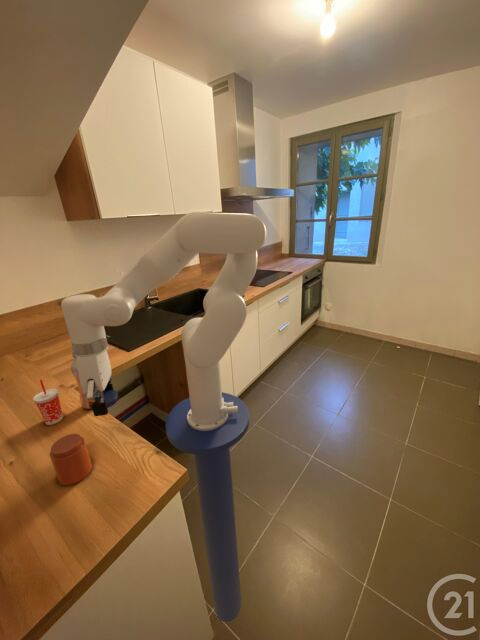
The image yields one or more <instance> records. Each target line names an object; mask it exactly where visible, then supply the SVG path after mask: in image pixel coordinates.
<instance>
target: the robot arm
mask: <svg viewBox="0 0 480 640" xmlns="http://www.w3.org/2000/svg"><path fill="white" fill-rule="evenodd" d="M266 240H267V228H266V225H265V223H264V222H263V220H262V219H261V218H259V216H257V215H255V214H253V213H237V212H236V213H233V212H211V211H209V212H208V211H191V212H188V213H186V214H185V215H182V217H181V218H180V219H179V220H178V221H176V223H174V224H173V225H172V226H171V227H170V228H169V229H168V230H167V231H166V232H165V233H164V234H163V235H162V236H161V237H160V238H159V239H158V240H157V241H156V242H154V244H153V245H152V246H151V247H150V248H149V249H148V250H146V252H144V254H143V255H142V256H141V257H140V258H139V260H138V261H137V263H135V265H134V266H133V267H131V269H130V270H129V271H127V273H126V274H125V275H124V276H123V277H121V278H120V279H119V281H118V282H117V283H116V284H115V285H113V287H112V288H110V289H109V290H108V291H107V292H106V293H105V294H104V295H101V296H99V297H97V296H96V295H94V294H90V293H83V294H74V295H72V296H67V297H65V298H63V299H62V300H61V304H60V305H61V310H62V314H63V318H64V322H65V325H66V329H67V332H68V336H69V340H70V343H71V347H72V351H74V355H75V356H77V369H78V375H79V380H80V385H81V389H82V393H83V394H87V400H88V401H89V402H90V404H91V405H92V409H93V410H92V409H91V410H92V413H93V416H94V417H101V416H107V415H108V414H109V408H107V405H106V400H104V397H103V391H104V390H115V389H114V385H113V382H112V381H113V380H112V378H111V376H112V366H111V361H110V357H109V353H108V352H107V351H108V349H109V343H108V339H107V334H106V330H105V327H119V326H123V325H125V324H126V323H128V322H129V321H130V320H131V318H132V317H133V313H134V310H135V308H136V307H137V306H138V305H139V304H140V303H141V302H142V301H143V300H144V299H145V298H146V297H147V296H148V295H149V294H150V293H151V292H152V291H154V290H155V289H157V288H158V287H159V286H162V285H164V284H166V283H168V282H170V281H171V280H173V279H174V278H175V277H176V276H177V275H178V274H179V273H180V272H181V271H182V270H183V269H184V268H185V267H187V265H188V264H189V263H190V262H191V261H192V260H193V259H195V258H196V257H197V256H198V255H199V254H219V255H220V254H223V255H224V254H225V255H226V257H225V262H224V264H223V266H222V268H221V270H220V271H219V274H218V275H217V277H216V278H215V280H214V281H213V283H212V284H211V286H210V288H209V289H208V290H207V292H206V294H205V296H204V298H203V301H202V306H203V310H204V312H205V313H204V315H203V317H193V318H190V319H189V320H188V321H186V323H184V325H183V327H182V330H181V334H180V335H181V345H182V350H183V357H184V365H185V371H186V372H185V373H186V380H187V388H188V395H189V397H190V404H191V409H190V410H189V412H188V414H187V421H188V424H189V425H190V426H191V427H192V428H194V429H196V430H200V431H209V430H213V429H216V428H218V427H220V426H222V425H223V424H224V423H225V422H226V420H227V418H228V413H238V407H237V406H233V402H229V403H226V402H224V398H222V392H223V391H222V381H221V366H220V361H221V360H222V358H223V357H224V356H225V354H226V353H227V351H228V350H229V348H230V347H231V346H232V344H233V342H234V341H235V339H236V337H237V336H238V334H239V333H240V331H241V330H242V328H243V326H244V324H245V322H246V318H247V314H248V308H247V304H246V302H245V300H244V298H243V297H244V296H245V294H246V292H247V291H248V290H249V289H248V288H249V286H250V285H251V283H252V281H253V280H254V278H255V275H256V272H257V269H258V250H260V249H261V248H262V247H263V246H264V244H265V242H266ZM95 388H98V389H99V388H100V390H95ZM95 393H99V395H100V398H99V397H98V396H97V397H96V396H95ZM189 397H188V398H189Z"/></svg>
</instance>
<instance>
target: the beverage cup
mask: <svg viewBox="0 0 480 640" xmlns="http://www.w3.org/2000/svg"><path fill="white" fill-rule="evenodd" d="M39 383H40V385H41V387H42V391H40V392H39V393H37V394H35V395H34V397H33V398H32V400H33V402H34V404H36V406H37V408H38V410H39V413H40V414H41V417H42V419H43V421H44V423H45V425H47V426H51V425H55V424H57V423H59V422H61V421H62V420H63V418H64V412H63V409H62V405H61V400H60V396H59V389H58V388H57V389H56V388H50V389H49V388H48V389H46V388H45V385H44V382H43V380H42V379H40V380H39Z"/></svg>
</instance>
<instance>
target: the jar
mask: <svg viewBox="0 0 480 640" xmlns="http://www.w3.org/2000/svg"><path fill="white" fill-rule="evenodd" d="M49 458H50V461H51V463H52V466H53V468H54V471H55V474H56V477H57V479H58V482H59V484H61V485H62V486H72V485H75V484H77V483H79V482H81V481H82V480H84V479H85V478H86V477H87V476H88V475H89V474H90V472H91V471H92V469H93V463H92V459H91V457H90V454H89V450H88V446H87V444H86V440H85V438H84V437H83V436H82V435H80V434H79V433H70V434H69V433H68V434H67V435H64V436H62V437H60V438H58V439H57V440H55V441H54V443H53V444H52V445H51V447H50V452H49Z"/></svg>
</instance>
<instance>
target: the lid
mask: <svg viewBox="0 0 480 640" xmlns="http://www.w3.org/2000/svg"><path fill="white" fill-rule="evenodd" d="M95 396H96V397H97V396H98V397H99V398H100V395H99V393H96V394H95ZM103 397H104V400H106V405H107V409H109V408H111V407H113V406H114V405H116V404H117V402H118V401H119V399H120V397H119V393H118V391H116V390H115V389H114V390H104V391H103ZM89 407H90V409H89V410H92V411H93V409H92V405H91V404H90V402H89Z"/></svg>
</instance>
